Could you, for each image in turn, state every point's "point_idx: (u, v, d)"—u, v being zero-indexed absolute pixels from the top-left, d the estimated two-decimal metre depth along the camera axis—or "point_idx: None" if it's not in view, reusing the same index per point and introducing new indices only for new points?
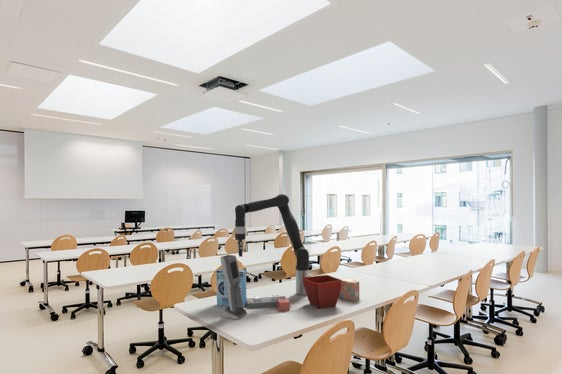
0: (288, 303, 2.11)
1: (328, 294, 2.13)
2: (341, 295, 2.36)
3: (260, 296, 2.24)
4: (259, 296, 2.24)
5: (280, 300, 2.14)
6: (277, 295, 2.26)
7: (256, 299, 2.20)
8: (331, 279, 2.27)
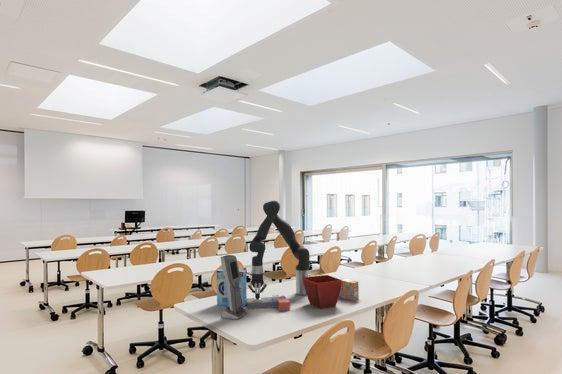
0: (288, 303, 2.11)
1: (328, 294, 2.13)
2: (340, 295, 2.36)
3: (260, 298, 2.24)
4: (259, 298, 2.24)
5: (280, 300, 2.14)
6: (277, 295, 2.26)
7: (256, 301, 2.20)
8: (331, 279, 2.27)
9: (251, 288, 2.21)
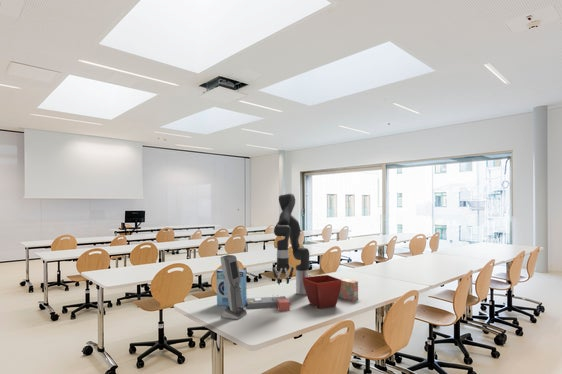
0: (288, 303, 2.11)
1: (328, 294, 2.13)
2: (340, 295, 2.36)
3: (260, 298, 2.24)
4: (259, 298, 2.24)
5: (280, 300, 2.14)
6: (277, 295, 2.26)
7: (256, 301, 2.20)
8: (331, 279, 2.27)
9: None
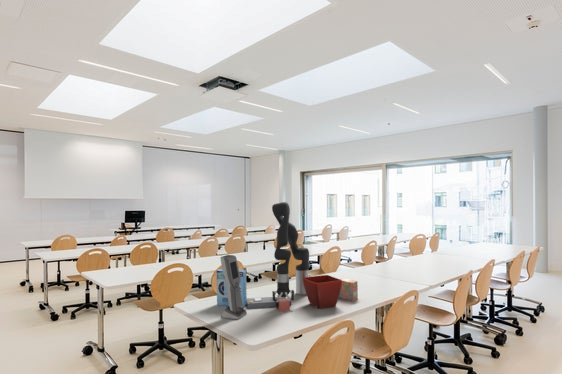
0: (288, 303, 2.11)
1: (328, 294, 2.13)
2: (339, 295, 2.36)
3: (260, 298, 2.24)
4: (259, 298, 2.24)
5: (280, 300, 2.14)
6: (277, 295, 2.26)
7: (256, 301, 2.20)
8: (331, 279, 2.27)
9: (274, 296, 2.12)
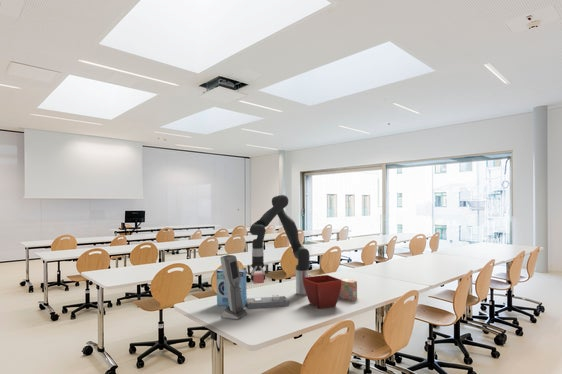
0: (262, 276, 2.19)
1: (328, 294, 2.13)
2: (339, 295, 2.37)
3: (260, 298, 2.24)
4: (259, 298, 2.24)
5: (255, 274, 2.23)
6: (277, 295, 2.26)
7: (256, 301, 2.20)
8: (331, 279, 2.27)
9: (249, 269, 2.21)
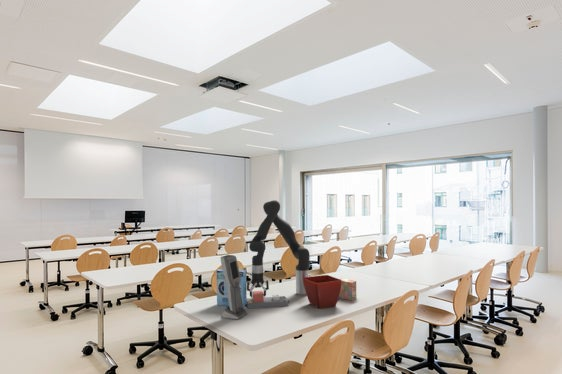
0: (262, 295, 2.19)
1: (328, 294, 2.13)
2: None
3: None
4: None
5: (255, 292, 2.23)
6: (277, 295, 2.26)
7: None
8: (331, 279, 2.27)
9: (248, 285, 2.21)
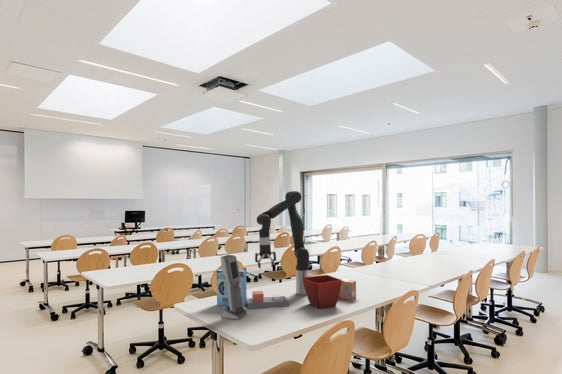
0: (262, 295, 2.19)
1: (328, 294, 2.13)
2: None
3: None
4: None
5: (255, 292, 2.23)
6: (277, 295, 2.26)
7: None
8: (331, 279, 2.27)
9: (256, 257, 2.30)
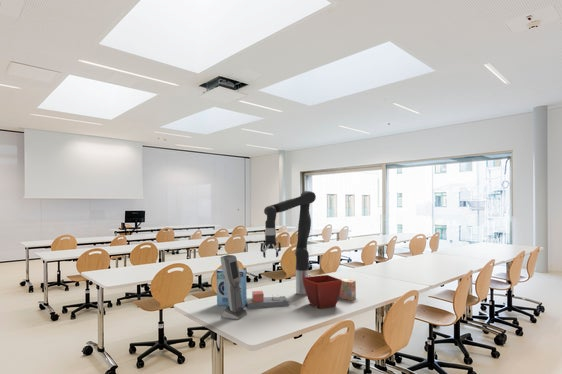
0: (262, 295, 2.19)
1: (328, 294, 2.13)
2: None
3: None
4: None
5: (255, 292, 2.23)
6: (277, 295, 2.26)
7: None
8: (331, 279, 2.27)
9: (262, 246, 2.38)
